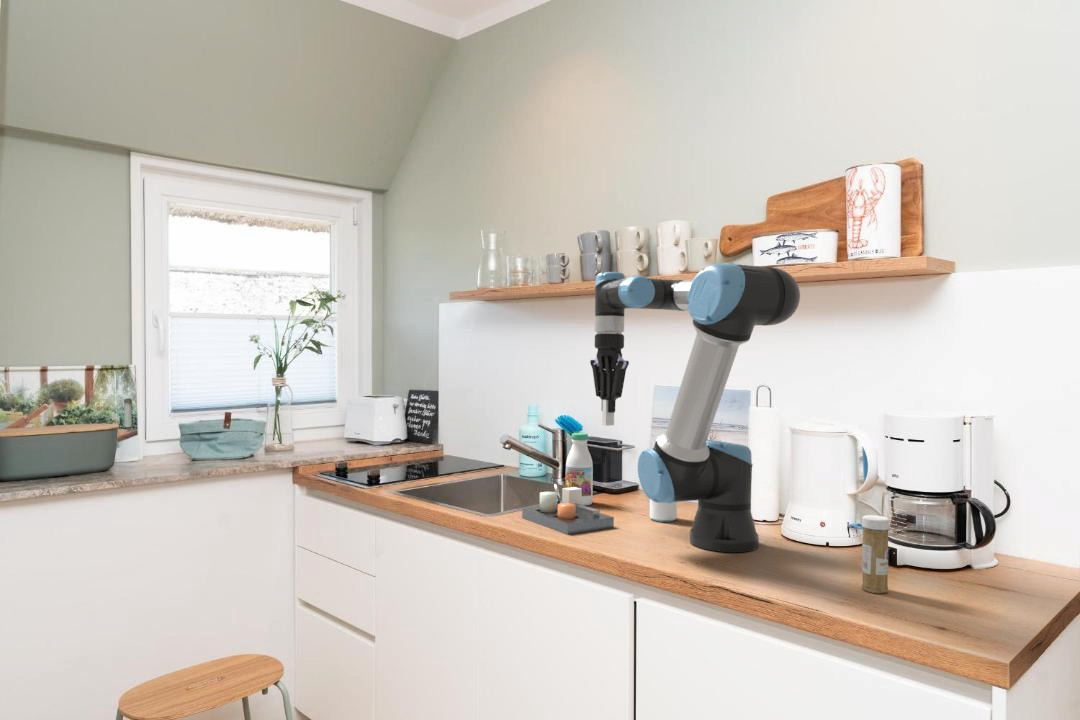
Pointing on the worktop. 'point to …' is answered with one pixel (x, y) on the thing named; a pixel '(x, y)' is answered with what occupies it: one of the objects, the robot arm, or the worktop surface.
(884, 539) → the spice jar
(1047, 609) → the worktop surface
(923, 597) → the worktop surface
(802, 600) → the worktop surface
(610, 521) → the grey base platform
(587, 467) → the milk bottle
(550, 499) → the button
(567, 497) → the slider
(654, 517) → the can
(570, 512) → the button
